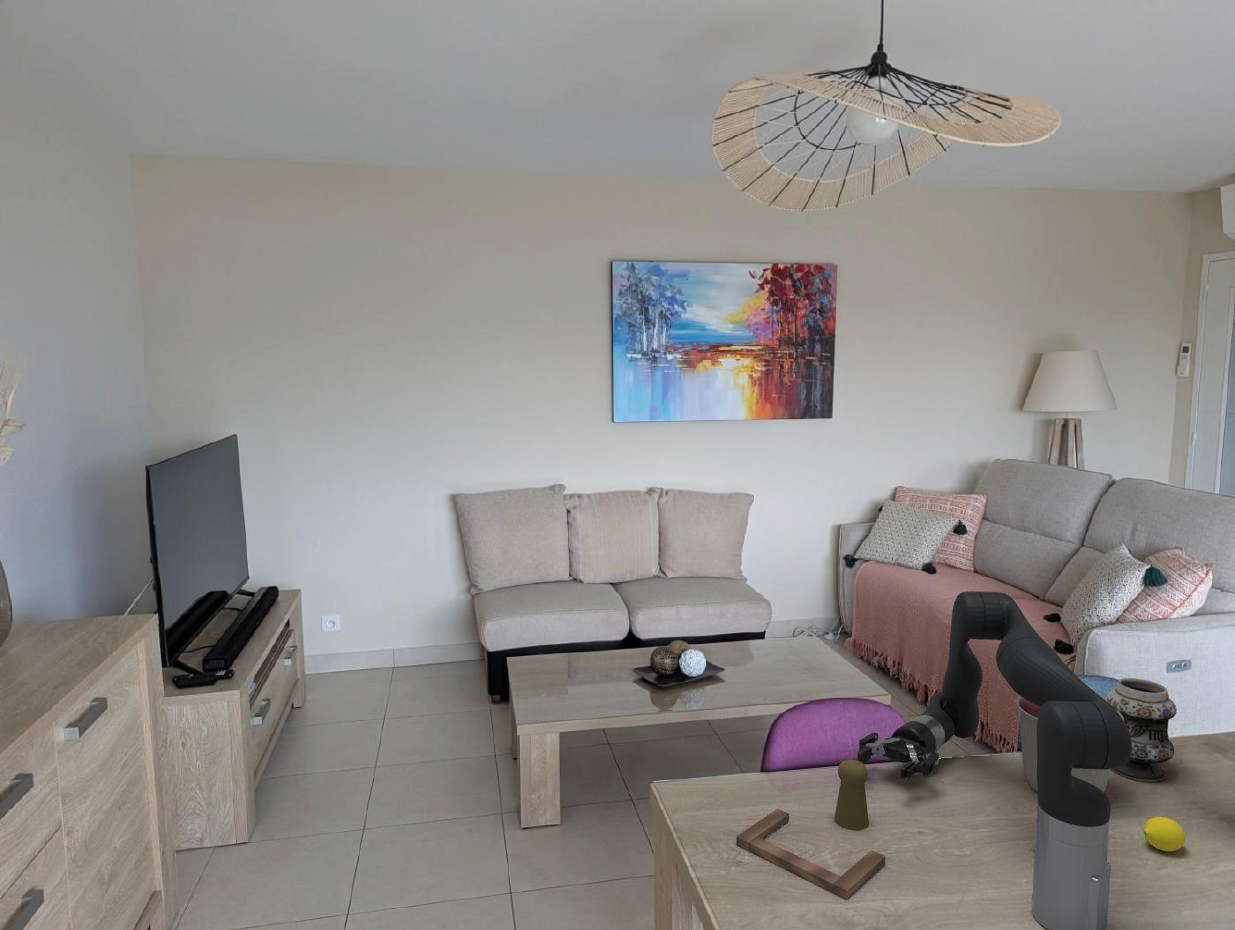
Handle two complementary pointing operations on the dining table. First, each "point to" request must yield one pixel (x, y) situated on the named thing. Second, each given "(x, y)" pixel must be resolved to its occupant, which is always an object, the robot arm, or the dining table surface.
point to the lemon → (1164, 834)
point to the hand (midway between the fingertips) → (880, 766)
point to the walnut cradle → (803, 868)
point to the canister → (1029, 749)
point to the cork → (852, 796)
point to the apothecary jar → (1144, 726)
